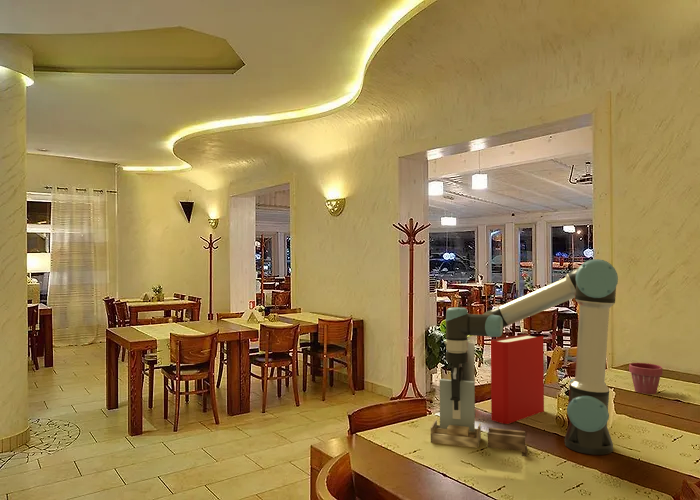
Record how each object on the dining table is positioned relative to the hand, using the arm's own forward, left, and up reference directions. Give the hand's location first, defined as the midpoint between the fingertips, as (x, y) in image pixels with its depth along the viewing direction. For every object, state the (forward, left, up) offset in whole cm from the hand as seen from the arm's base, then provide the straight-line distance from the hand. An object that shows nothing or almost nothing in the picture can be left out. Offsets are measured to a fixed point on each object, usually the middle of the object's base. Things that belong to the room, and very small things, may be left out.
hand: (457, 417), depth 185 cm
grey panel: (0, 0, -7) cm, 7 cm away
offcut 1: (-1, +5, -4) cm, 7 cm away
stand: (-17, +3, -8) cm, 19 cm away
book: (-19, -39, -9) cm, 44 cm away
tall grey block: (+1, -37, -9) cm, 38 cm away
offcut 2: (-2, +5, -7) cm, 9 cm away
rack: (0, +3, -8) cm, 9 cm away
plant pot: (-77, -98, -9) cm, 125 cm away
